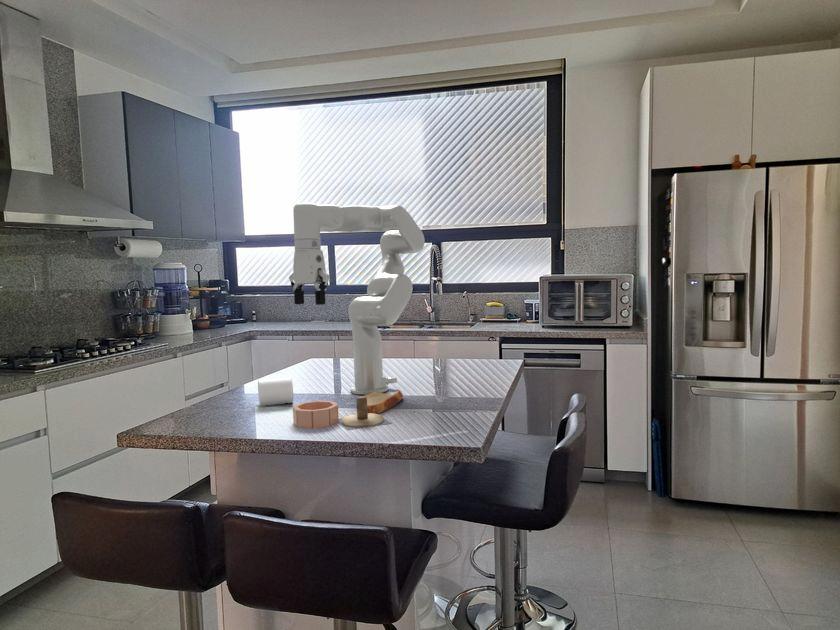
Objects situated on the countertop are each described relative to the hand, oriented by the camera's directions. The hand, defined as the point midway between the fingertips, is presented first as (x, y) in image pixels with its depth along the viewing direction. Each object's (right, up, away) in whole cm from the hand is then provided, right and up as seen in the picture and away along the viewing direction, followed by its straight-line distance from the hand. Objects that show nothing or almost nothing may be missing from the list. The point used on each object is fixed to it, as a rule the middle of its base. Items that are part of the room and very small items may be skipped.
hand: (309, 304), depth 172 cm
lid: (+17, -31, -18) cm, 40 cm away
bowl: (+5, -32, -17) cm, 37 cm away
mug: (-13, -31, +10) cm, 35 cm away
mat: (+17, -32, -18) cm, 41 cm away
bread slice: (+21, -30, 0) cm, 37 cm away
